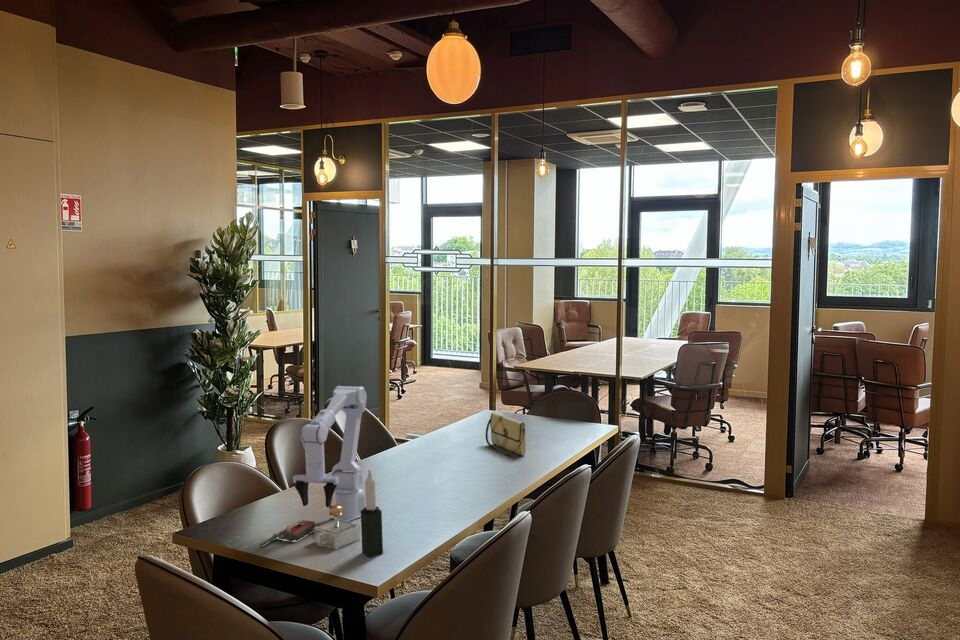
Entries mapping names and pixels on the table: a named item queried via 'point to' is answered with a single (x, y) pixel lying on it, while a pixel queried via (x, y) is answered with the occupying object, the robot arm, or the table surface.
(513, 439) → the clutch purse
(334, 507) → the square lid with knob
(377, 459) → the table surface
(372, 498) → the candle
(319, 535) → the square tray with tab
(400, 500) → the table surface
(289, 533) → the walkie-talkie
